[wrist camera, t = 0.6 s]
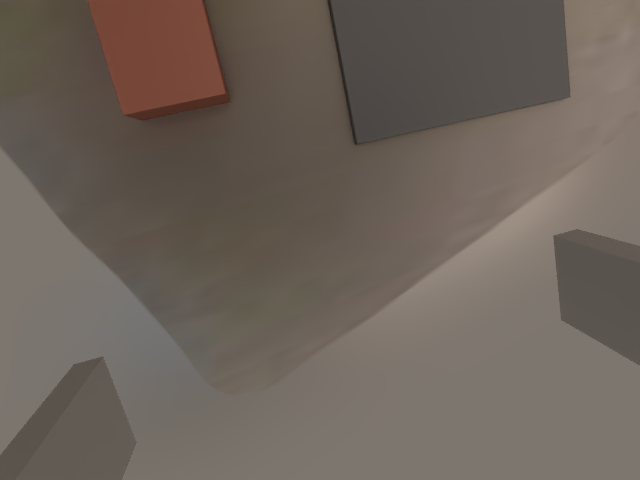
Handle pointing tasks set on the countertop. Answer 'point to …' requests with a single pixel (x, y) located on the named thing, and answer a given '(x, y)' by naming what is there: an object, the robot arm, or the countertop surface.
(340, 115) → the countertop surface
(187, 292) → the countertop surface
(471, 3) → the rubber mat
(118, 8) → the card deck box
